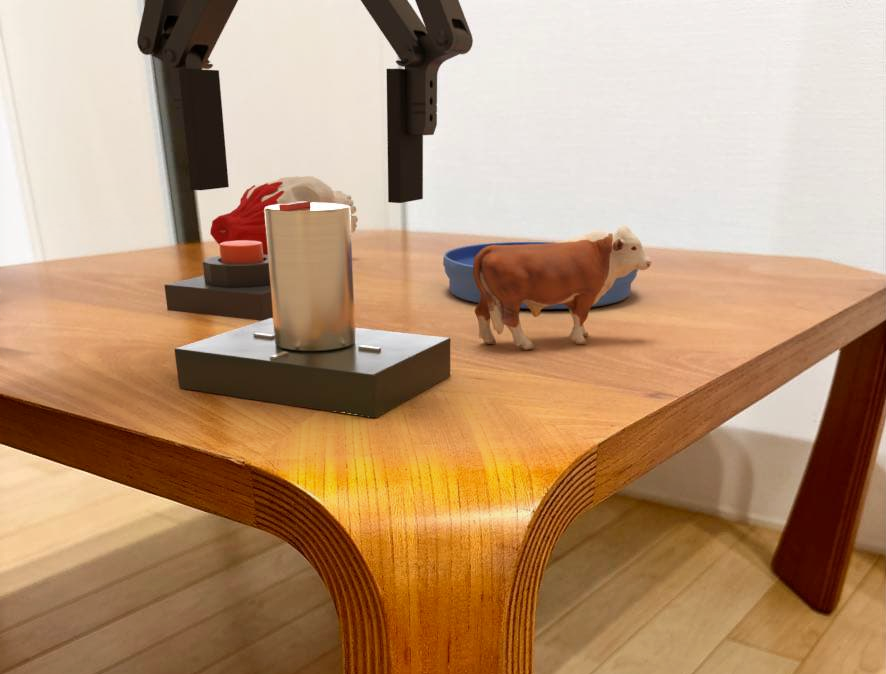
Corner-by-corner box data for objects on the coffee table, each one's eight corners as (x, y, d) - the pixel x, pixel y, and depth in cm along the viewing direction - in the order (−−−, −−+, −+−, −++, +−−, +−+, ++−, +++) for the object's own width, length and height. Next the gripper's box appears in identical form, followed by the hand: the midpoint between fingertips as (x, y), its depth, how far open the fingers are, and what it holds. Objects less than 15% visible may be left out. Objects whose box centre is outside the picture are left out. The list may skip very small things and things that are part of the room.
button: (212, 265, 78) (210, 244, 77) (238, 259, 81) (236, 239, 80) (247, 268, 76) (245, 246, 76) (272, 262, 79) (270, 241, 79)
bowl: (407, 288, 88) (406, 250, 87) (553, 272, 97) (555, 237, 96) (519, 321, 75) (520, 276, 73) (677, 299, 83) (681, 259, 82)
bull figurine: (651, 343, 68) (662, 228, 64) (478, 354, 65) (480, 234, 61) (625, 330, 71) (635, 221, 68) (460, 340, 68) (462, 226, 65)
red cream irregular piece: (365, 254, 105) (247, 284, 98) (317, 243, 113) (205, 269, 106) (354, 171, 100) (229, 196, 93) (305, 165, 108) (187, 187, 101)
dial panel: (178, 388, 57) (173, 345, 56) (272, 353, 65) (269, 315, 64) (374, 418, 51) (373, 372, 50) (450, 376, 59) (450, 335, 58)
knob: (304, 330, 60) (295, 196, 56) (370, 337, 58) (365, 199, 54) (258, 346, 56) (246, 202, 52) (328, 355, 54) (320, 206, 50)
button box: (167, 310, 78) (161, 262, 77) (232, 293, 86) (228, 249, 84) (262, 321, 75) (258, 271, 73) (322, 302, 82) (319, 256, 80)
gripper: (30, -262, 46) (95, 188, 55) (484, -350, 36) (471, 213, 46) (135, -219, 52) (178, 180, 61) (548, -284, 42) (525, 200, 52)
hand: (303, 195), depth 53 cm, fingers open, 13 cm apart
